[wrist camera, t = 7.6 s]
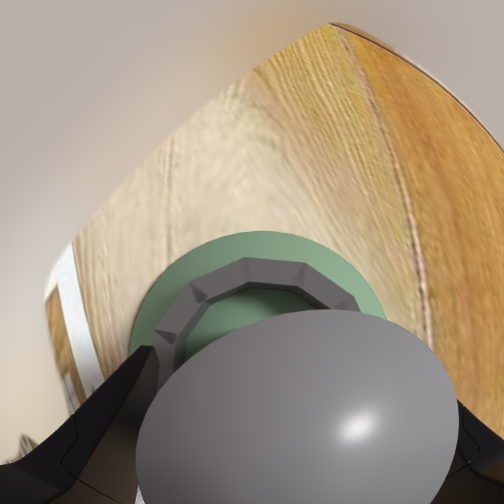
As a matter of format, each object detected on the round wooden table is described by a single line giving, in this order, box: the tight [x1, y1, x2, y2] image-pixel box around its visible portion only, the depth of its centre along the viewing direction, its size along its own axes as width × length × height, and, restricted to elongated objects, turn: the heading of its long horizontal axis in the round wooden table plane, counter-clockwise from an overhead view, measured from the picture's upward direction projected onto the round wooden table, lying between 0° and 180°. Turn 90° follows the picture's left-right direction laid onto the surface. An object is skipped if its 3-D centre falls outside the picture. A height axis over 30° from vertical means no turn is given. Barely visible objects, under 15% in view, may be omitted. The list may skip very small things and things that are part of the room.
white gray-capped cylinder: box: [135, 309, 459, 504], centre depth 9 cm, size 5×5×13 cm
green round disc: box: [130, 231, 387, 395], centre depth 15 cm, size 16×16×3 cm
